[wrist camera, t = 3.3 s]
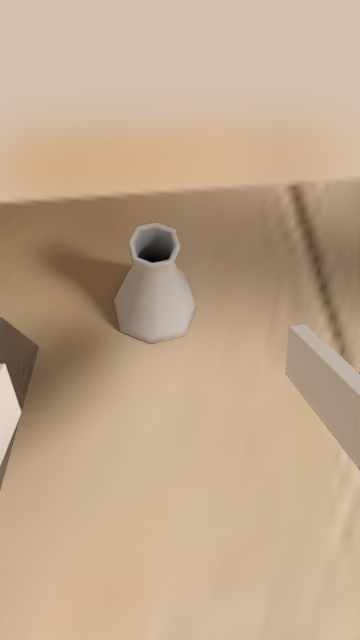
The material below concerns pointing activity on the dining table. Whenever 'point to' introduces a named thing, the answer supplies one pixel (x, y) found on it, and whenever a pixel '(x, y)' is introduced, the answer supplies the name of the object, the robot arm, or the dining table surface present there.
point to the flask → (154, 287)
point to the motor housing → (15, 369)
